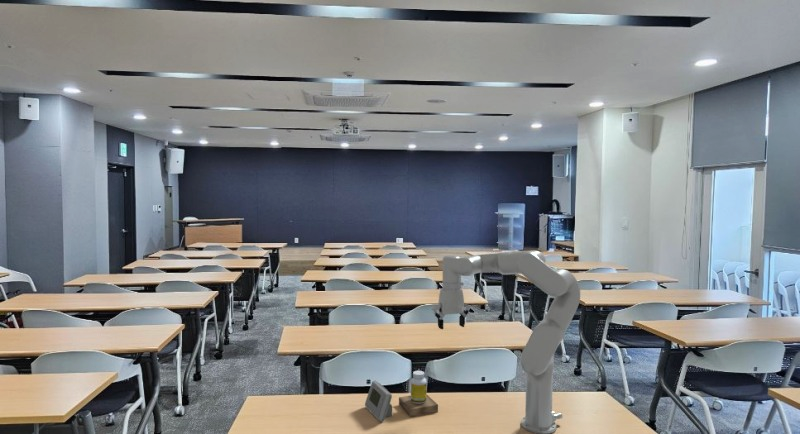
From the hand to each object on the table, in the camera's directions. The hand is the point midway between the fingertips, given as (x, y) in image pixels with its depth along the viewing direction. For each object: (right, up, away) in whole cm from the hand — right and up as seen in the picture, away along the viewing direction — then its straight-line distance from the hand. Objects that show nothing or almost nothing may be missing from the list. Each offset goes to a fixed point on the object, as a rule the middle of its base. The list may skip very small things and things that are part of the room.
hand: (451, 327), depth 189 cm
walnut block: (-14, -32, -2) cm, 35 cm away
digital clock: (-30, -33, -7) cm, 45 cm away
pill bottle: (-14, -30, -2) cm, 33 cm away
